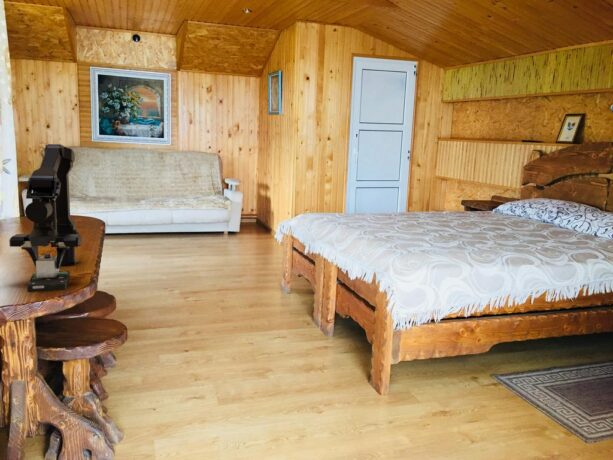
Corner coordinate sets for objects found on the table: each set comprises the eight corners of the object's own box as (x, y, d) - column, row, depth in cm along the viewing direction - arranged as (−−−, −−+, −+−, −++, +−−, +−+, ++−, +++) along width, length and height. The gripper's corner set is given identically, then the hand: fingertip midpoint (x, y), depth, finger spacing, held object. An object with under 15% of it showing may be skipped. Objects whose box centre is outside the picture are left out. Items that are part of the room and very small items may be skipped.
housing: (41, 273, 164) (40, 252, 163) (59, 273, 165) (58, 252, 163) (36, 277, 159) (35, 256, 158) (54, 277, 160) (53, 256, 159)
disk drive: (67, 292, 157) (70, 278, 171) (66, 282, 157) (69, 269, 170) (27, 294, 154) (33, 280, 167) (26, 284, 153) (33, 271, 167)
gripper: (0, 221, 149) (4, 275, 152) (72, 221, 153) (74, 275, 155) (14, 215, 160) (17, 266, 163) (81, 215, 163) (83, 266, 166)
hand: (47, 268), depth 161 cm, fingers open, 5 cm apart
